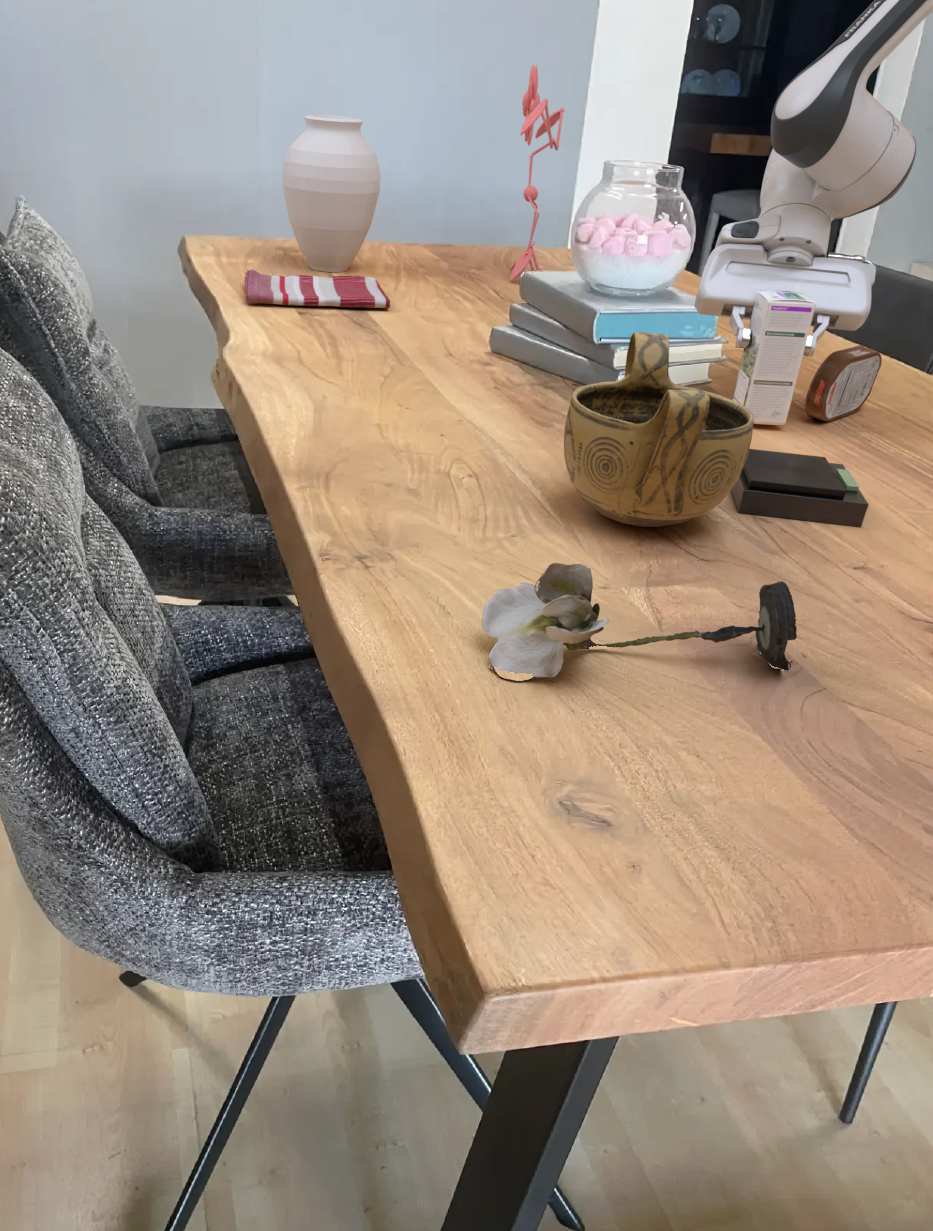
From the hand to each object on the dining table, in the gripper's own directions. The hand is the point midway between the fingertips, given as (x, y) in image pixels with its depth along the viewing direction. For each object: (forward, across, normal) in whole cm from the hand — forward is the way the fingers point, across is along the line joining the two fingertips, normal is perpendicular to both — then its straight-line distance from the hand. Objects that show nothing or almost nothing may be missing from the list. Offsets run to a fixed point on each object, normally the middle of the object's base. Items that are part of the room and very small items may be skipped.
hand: (773, 349), depth 127 cm
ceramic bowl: (+33, +13, +20) cm, 41 cm away
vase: (-42, +76, -54) cm, 102 cm away
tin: (0, -11, -13) cm, 17 cm away
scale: (+25, -2, +12) cm, 28 cm away
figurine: (-51, +44, -63) cm, 92 cm away
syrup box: (+6, 0, -6) cm, 9 cm away
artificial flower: (+55, +12, +42) cm, 70 cm away
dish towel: (-23, +70, -35) cm, 82 cm away
